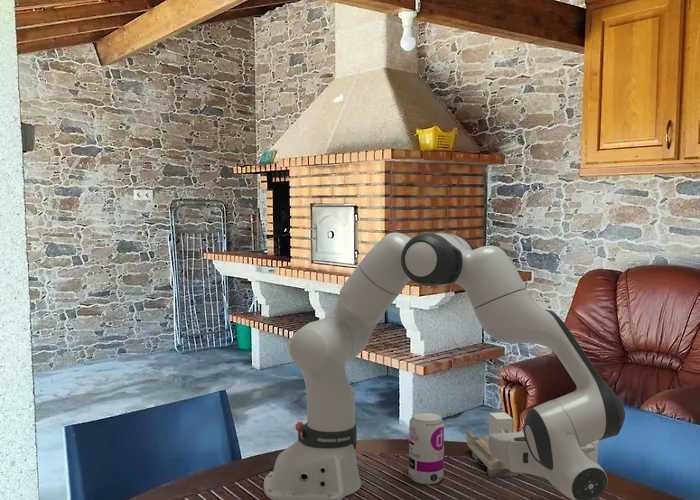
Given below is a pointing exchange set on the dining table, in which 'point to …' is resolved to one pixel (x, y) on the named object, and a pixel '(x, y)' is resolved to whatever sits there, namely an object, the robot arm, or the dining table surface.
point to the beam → (487, 456)
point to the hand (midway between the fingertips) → (522, 431)
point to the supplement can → (426, 448)
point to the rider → (500, 423)
